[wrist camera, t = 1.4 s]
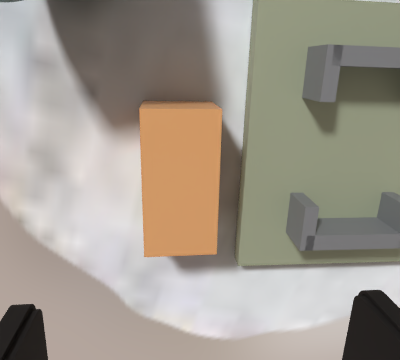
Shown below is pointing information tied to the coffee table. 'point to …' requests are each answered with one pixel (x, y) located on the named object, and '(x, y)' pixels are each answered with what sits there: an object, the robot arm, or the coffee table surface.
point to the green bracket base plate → (321, 134)
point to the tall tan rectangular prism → (180, 176)
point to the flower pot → (9, 0)
